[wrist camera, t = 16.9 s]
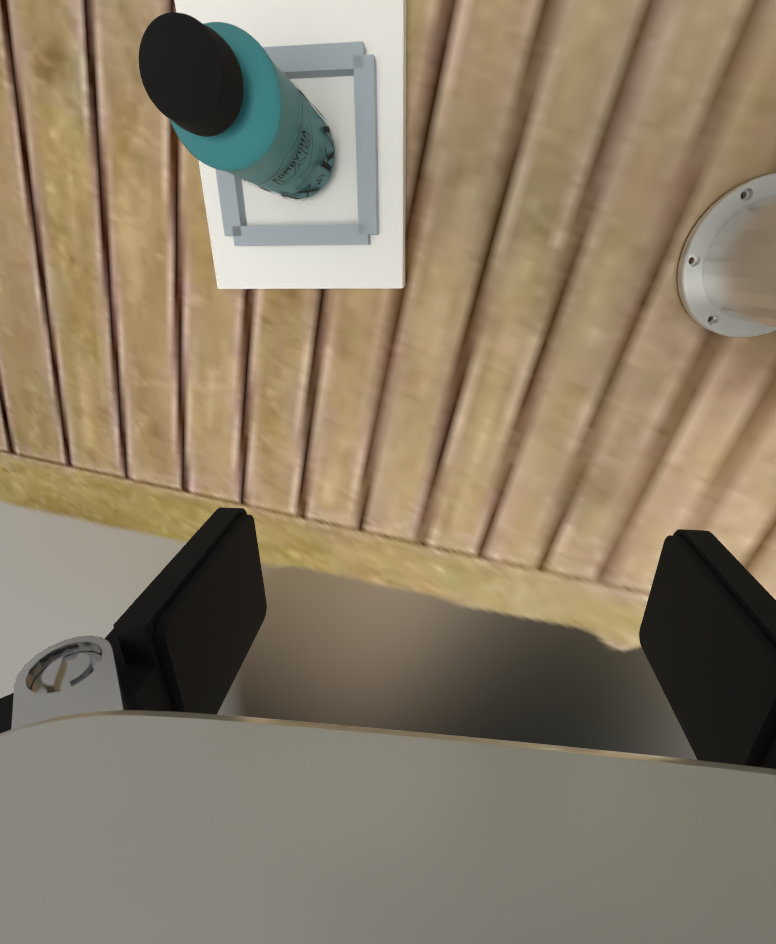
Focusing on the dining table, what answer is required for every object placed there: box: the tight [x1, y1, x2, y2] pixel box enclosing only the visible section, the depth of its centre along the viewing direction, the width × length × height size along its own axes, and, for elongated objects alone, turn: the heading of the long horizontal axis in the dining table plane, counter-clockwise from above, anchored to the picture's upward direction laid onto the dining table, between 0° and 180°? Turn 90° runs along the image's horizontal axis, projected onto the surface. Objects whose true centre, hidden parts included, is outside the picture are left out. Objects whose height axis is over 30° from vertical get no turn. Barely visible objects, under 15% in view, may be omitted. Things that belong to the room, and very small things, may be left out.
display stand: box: [175, 0, 407, 289], centre depth 39 cm, size 17×20×4 cm
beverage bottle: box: [139, 12, 336, 201], centre depth 29 cm, size 6×7×20 cm
